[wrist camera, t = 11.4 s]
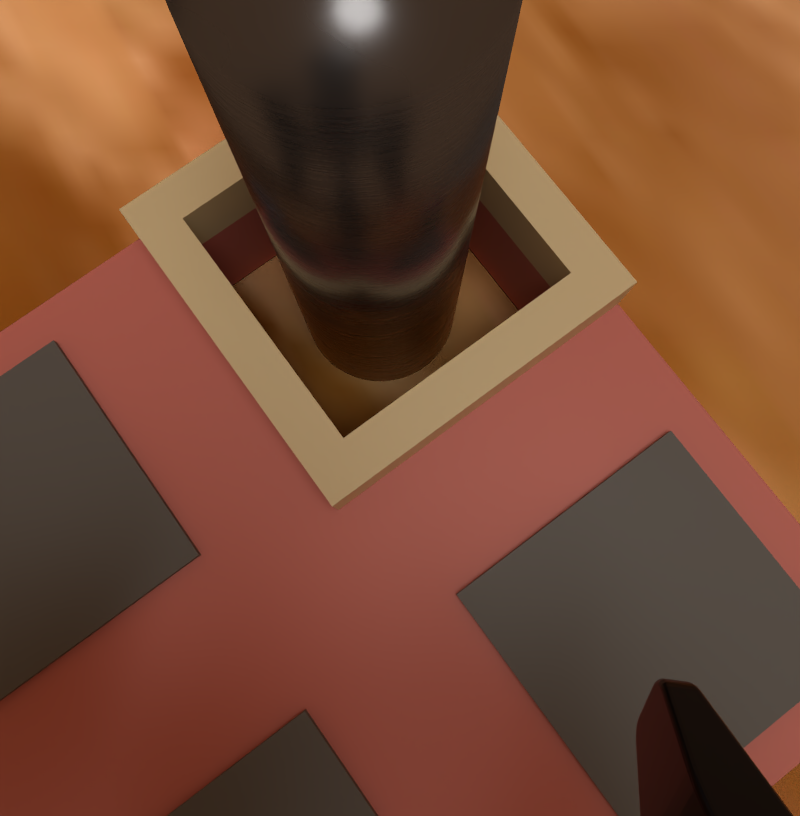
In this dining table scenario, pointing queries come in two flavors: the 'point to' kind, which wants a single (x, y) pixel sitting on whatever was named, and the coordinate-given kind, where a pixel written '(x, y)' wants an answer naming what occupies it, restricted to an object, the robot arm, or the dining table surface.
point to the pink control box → (368, 542)
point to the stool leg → (360, 153)
